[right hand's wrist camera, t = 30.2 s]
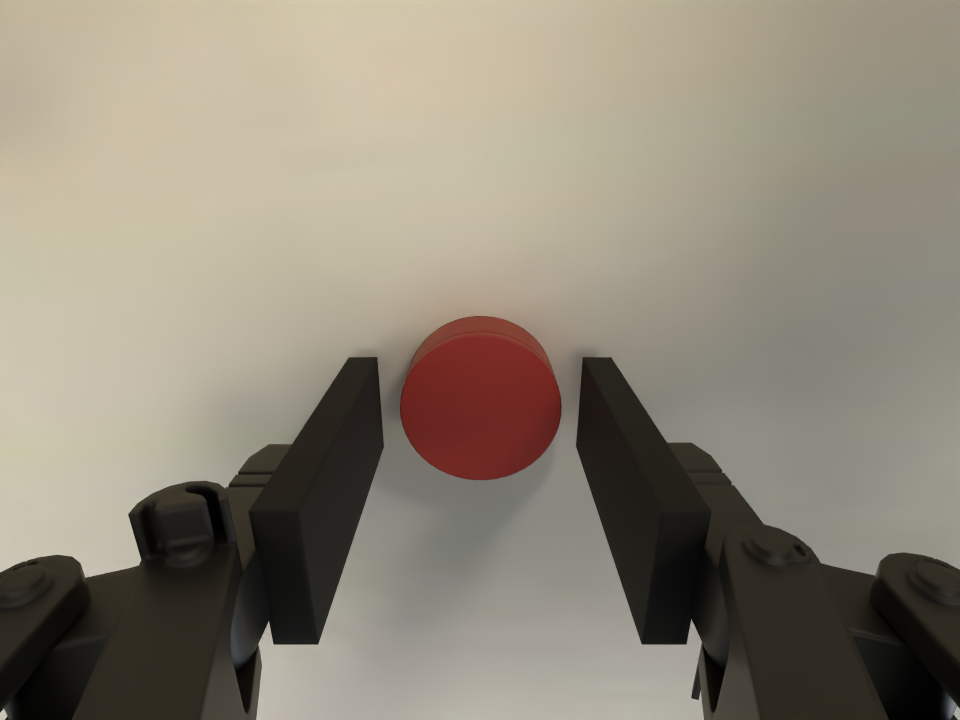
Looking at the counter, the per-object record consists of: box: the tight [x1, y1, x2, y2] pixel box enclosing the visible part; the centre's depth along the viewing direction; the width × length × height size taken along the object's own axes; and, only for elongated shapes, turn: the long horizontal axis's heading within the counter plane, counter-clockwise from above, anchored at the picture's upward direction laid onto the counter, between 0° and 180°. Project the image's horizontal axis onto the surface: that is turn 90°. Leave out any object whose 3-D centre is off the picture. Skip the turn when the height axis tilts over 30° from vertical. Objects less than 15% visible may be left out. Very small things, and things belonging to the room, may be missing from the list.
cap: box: [400, 316, 561, 480], centre depth 15 cm, size 4×4×2 cm
